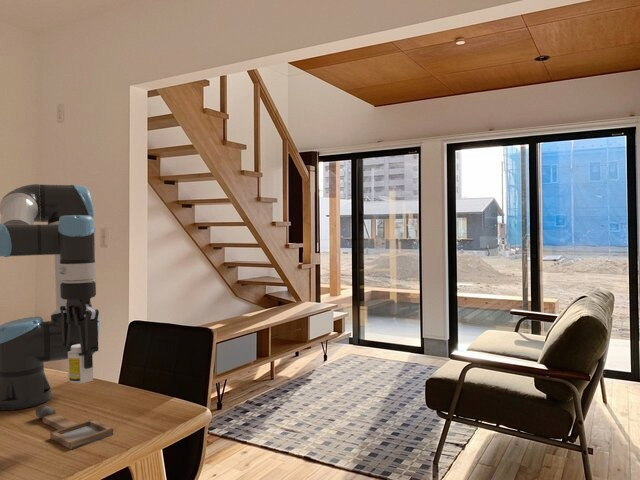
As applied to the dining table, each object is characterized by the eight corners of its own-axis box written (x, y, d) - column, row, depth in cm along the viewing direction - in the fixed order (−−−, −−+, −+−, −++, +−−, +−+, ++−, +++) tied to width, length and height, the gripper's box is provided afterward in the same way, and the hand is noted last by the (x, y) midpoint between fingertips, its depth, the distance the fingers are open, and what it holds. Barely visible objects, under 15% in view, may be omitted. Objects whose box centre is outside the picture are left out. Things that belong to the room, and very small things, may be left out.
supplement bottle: (82, 384, 115) (81, 348, 115) (64, 383, 116) (64, 347, 116) (96, 378, 120) (95, 343, 120) (78, 377, 121) (78, 342, 121)
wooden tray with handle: (21, 423, 127) (21, 410, 127) (61, 411, 135) (61, 399, 135) (71, 449, 111) (71, 435, 111) (113, 434, 119) (113, 421, 119)
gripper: (43, 280, 120) (46, 376, 120) (81, 285, 109) (84, 391, 110) (75, 277, 126) (77, 369, 126) (113, 281, 115) (116, 382, 116)
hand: (80, 379), depth 118 cm, fingers closed on supplement bottle, 5 cm apart
